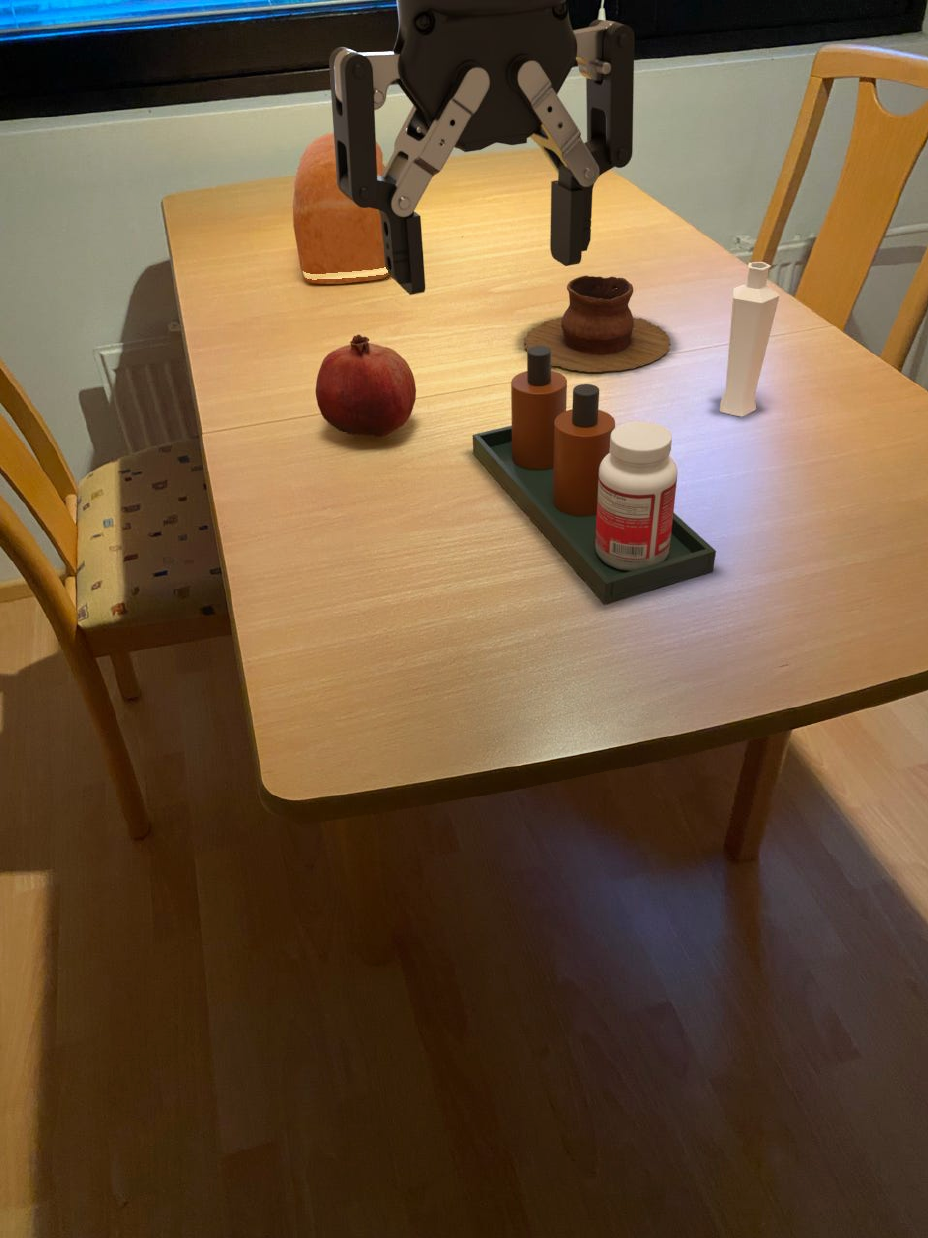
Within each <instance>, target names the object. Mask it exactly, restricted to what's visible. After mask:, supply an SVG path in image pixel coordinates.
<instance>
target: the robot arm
mask: <svg viewBox="0 0 928 1238" xmlns="http://www.w3.org/2000/svg"><path fill="white" fill-rule="evenodd" d="M569 7H570V0H396V8H397V16H398V32H397V37H396V41H395V44H394V47H393V50H392V51H373V52H372V51H371V52H357V51H354V50H353V49H350V48H348V47H345V46H340V47H336V48H335V49H334V50H333V51H332V52H331V53H330V56H329V60H328V65H329V67H328V68H329V80H330V95H331V96H330V98H331V110H332V112H331V113H332V127H333V133H334V144H335V159H336V174H337V185H338V188H339V190H340V191H341V192H342V193H343V194H344V195H346V196H347V197H348V198H349V199H350V200H352V201H353V202H354V203H355V204H356V205H357V206H359V207H361V208H368V207H370V208H374V209H378V210H379V212H380V216H381V226H382V236H383V245H384V254H385V255H384V257H385V267H386V269H387V270H388V272H389V276H390V277H391V278H392V279H393V280H394V281H395V283H397V284H398V285H399V286H400V287H401V288H402V289H403V290H404V291H405V292H406V293H407V294H408V295H409V296H412V295H418V294H423V293H425V292H426V274H425V261H424V260H425V259H424V248H423V247H424V246H423V233H422V219H421V218H422V217H421V215H420V214H419V213H417V212H416V211H415V210H416V208H417V206H418V204H419V203H420V201H421V199H422V197H423V196H424V194H425V191H426V190H427V188H428V186H429V184H430V183H431V181H432V179H433V177H434V176H435V175H438V174H439V173H440V172H441V171H442V170H443V168H444V166H445V165H446V162H447V161H448V160H449V158H450V155H451V154H452V152H453V150H454V149H458V150H461V151H462V152H464V153H469V152H476V151H481V150H484V149H486V148H488V147H490V146H492V145H494V144H502V145H507V146H508V145H509V146H517V145H523V144H527V143H528V139H529V138H530V139H531V140H532V141H533V142H534V143H535V144H536V145H537V146H538V147H539V148H540V150H541V151H542V152H543V154H544V156H545V157H546V159H547V160H548V161H549V163H550V165H551V166H552V167H553V169H554V171H555V172H556V173H557V180H551V183H550V235H549V237H550V239H549V240H550V241H549V243H550V245H549V247H550V248H549V249H550V250H549V251H550V254H551V257H552V258H553V259H554V260H555V261H556V262H558V263H560V264H561V265H562V266H564V267H570V266H574V265H579V264H580V263H581V262H582V253H583V252H586V251H588V248H589V245H590V242H591V236H592V215H593V214H592V213H593V211H592V210H593V193H594V192H593V191H594V186H595V184H596V182H597V180H598V179H599V178H600V176H602V175H604V174H605V173H607V172H608V171H610V170H612V169H614V168H617V169H622V168H625V167H626V166H627V165H629V163H630V162H631V160H632V158H633V153H634V152H633V151H634V148H633V144H634V143H633V142H634V94H635V93H634V90H635V87H634V86H635V31H634V30H633V28H632V27H630V25H628V24H622V23H621V22H617V21H612V20H606V19H605V20H603V19H595V20H593V21H591V22H590V24H589V25H588V26H587V27H584V28H579V29H573V27H572V24H571V20H570V13H569ZM575 63H577V66H578V71H579V74H580V75H581V76H582V77H583V78H584V79H585V85H586V86H585V90H586V93H585V95H586V97H585V98H586V100H585V101H586V141H585V142H584V141H583V139H582V137H581V136H582V133H581V130H580V129H579V127H578V126H577V124H576V122H575V121H574V119H573V117H572V116H571V114H570V113H569V111H568V110H567V108H566V107H565V105H564V103H563V102H562V100H561V99H560V97H559V96H558V95H559V92H560V90H561V88H562V87H563V85H564V84H565V81H566V79H567V78H568V76H569V74H570V73H571V70H572V69H573V67H574V65H575ZM394 81H395V82H396V83H397V85H398V86H399V88H400V89H401V91H402V92H403V93H404V94H405V96H406V97H407V99H408V100H409V101H410V102H411V104H412V107H411V109H410V111H409V113H408V115H407V117H406V119H405V120H404V122H403V124H402V126H401V128H400V130H399V132H398V134H397V136H396V138H395V140H394V145H393V146H394V149H393V152H392V154H391V156H390V157H389V160H388V162H387V164H386V165H385V167H386V168H385V169H384V171H383V173H382V175H381V176H377V158H376V142H377V138H376V137H377V135H376V133H377V132H376V113H375V111H378V110H379V109H381V108H382V107H383V106H384V104H385V102H386V99H387V94H388V89H389V87H390V85H391V84H392V83H393V82H394Z"/></svg>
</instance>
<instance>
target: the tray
mask: <svg viewBox="0 0 928 1238" xmlns="http://www.w3.org/2000/svg"><path fill="white" fill-rule="evenodd" d="M472 454H473V456H475V457H476V459H478V461H479V462H480V463H481V464H482V465H483V466H484V467H485V469H486V470H487V471H488V473H490V475H491V476H492V477H493V478H494V479H495V481H497V483H499V485H500V486H501V487H502V488H503V489H504V491H505V492H506V493H507V494H508V496H510V497H511V498H512V500H513V501H514V502H515V503H516V504H517V506H518V507H520V509H521V510H522V511H523V513H524V514H525V515H526V516H527V517H528V518H529V519H530V520H531V522H532V523H533V524H534V525H535V527H537V528H538V530H539V531H540V532H541V533H542V534H543V535H544V536H545V538H546V539H547V540H548V541H549V542H550V544H551V545H552V546H553V547H554V548H555V549H556V550H557V551H558V552H559V554H560V555H561V556H562V557H563V558H564V560H566V562H567V563H568V564H569V565H570V566H571V568H573V570H574V571H575V572H576V573H577V574H578V576H579V577H580V578H581V579H582V580H583V582H585V584H586V585H587V586H588V587H589V588H590V589H591V591H592V592H593V593H594V594H595V595H596V596H597V598H599V600H601V602H602V604H604V605H607V604H610V603H613V602H617V601H619V600H624V599H626V598H629V597H632V596H636V595H639V594H643V593H647V592H649V591H653V590H656V589H660V588H662V587H663V588H664V587H665V586H670V585H672V584H676V583H679V582H682V581H685V580H689V579H692V578H695V577H699V576H702V575H706V574H709V573H712V572H714V568H715V561H716V554H717V550H716V549H715V548H714V547H713V546H711V545H710V544H709V542H707V541H706V540H705V539H704V538H702V536H700V535H699V534H698V533H697V531H695V530H694V529H693V528H692V527H690V526H689V525H688V524H687V523H686V522H685V521H683V519H682V518H681V517H679V516H678V515H677V514H676V513H675V511H674V512H673V521H672V530H671V540H670V548H669V553H668V555H667V557H666V559H665V560H664V561H663V562H660V563H657V564H654V565H650V566H647V567H643V568H640V569H637V570H633V571H626V570H620V569H616V568H614V567H611V566H609V565H608V564H606V563H605V562H604V561H602V560H601V559H600V557H599V556H598V554H597V552H596V520H597V514H596V515H591V516H573V515H569V514H566V513H563V512H561V511H560V510H558V509H557V508H556V507H555V505H554V503H553V473H554V468H551V469H546V470H530V469H526V468H523V467H520V466H518V465H517V464H516V463H515V462H514V461H513V459H512V425H509V426H504V427H499V428H494V429H491V430H487V431H483V432H478V433H475V434H472Z"/></svg>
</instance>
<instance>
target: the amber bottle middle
mask: <svg viewBox="0 0 928 1238" xmlns="http://www.w3.org/2000/svg"><path fill="white" fill-rule="evenodd" d="M599 405H600V388H599V387H598V386H597V385H595V384H592V383H581V384H577V385H575V386H574V387H573V388H572V406H571V407H572V409H568V410H566V411H565V412H563V413H561V414H559V415H558V416H557V417H556V419H555V424H554V473H553V503H554V505H555V507H556V508H557V509H558V510H560V511H561V512H563V513H566V514H569V515H573V516H591V515H596V514H597V500H598V478H599V468H600V464H601V462H602V460H603V459H604V457H605V456H606V455H608V454H609V453H610V438H611V433H612V431H613V430H614V429H615V428H616V419H615V418H614V417H613V416H612V415H611V414H610V413H608V412H606V411H604V410H601V409H599Z"/></svg>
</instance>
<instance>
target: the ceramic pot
mask: <svg viewBox="0 0 928 1238" xmlns="http://www.w3.org/2000/svg"><path fill="white" fill-rule="evenodd" d="M566 290H567V292H568V298H569V304H568V307H567V309H566V310H565V312H564V313H563V315H562V317H558V318H555V319H550V320H547V321H546V320H544V321H543V322H542V323H541V324H539V325H537V326H535V327H532V328H531V329H530V330H528V331H527V332H526V335H525V337H523V343H522V344H523V345H524V344H525V345H524V346H523V348H524V349H526V350H528V349H529V348H531V347H534V346H546V347H548V348H550V349H551V367H556V366H557V367H561V369H566V370H567V369H568V370H570V371H574V370H575V371H578V372H587V373H602V372H613V371H619V372H621V371H626V370H629V369H636V368H638V367H642V366H645V365H648V364H651V363H653V362H654V361H656V360H659V359H661V358H662V357H663V356H665V355H666V354H667V353H668V352H669V351H670V349H671V348H670V346H669V345H671V342H670V337H669V335H668V334H667V332H666V331H664V330H663V329H662V328H661V327H660V326H659V325H656V324H654V323H651V322H650V321H648V320H646V319H643V318H641V317H639V318H636V317H634V316H633V312H632V310H631V309H630V307H629V303H630V301H631V298H632V296H633V293H634V287H633V284H632V283H631V282H629V280H627V279H626V278H624V277H616V276H609V277H603V276H595V275H593V276H590V275H582V276H581V275H580V276H578V277H576V278H573V279H571V280H570V281H568V283H567V284H566Z"/></svg>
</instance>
